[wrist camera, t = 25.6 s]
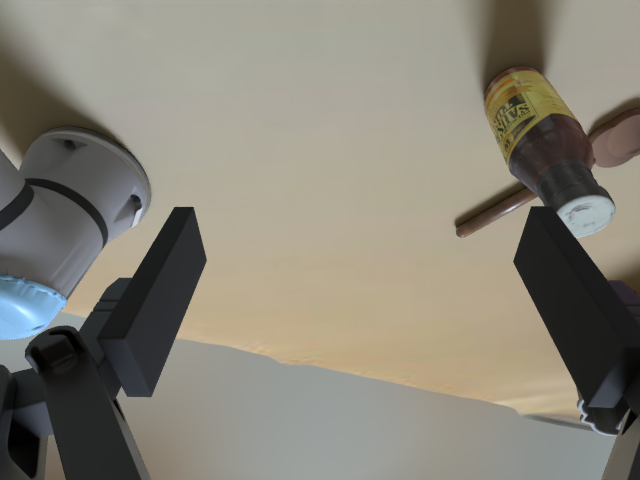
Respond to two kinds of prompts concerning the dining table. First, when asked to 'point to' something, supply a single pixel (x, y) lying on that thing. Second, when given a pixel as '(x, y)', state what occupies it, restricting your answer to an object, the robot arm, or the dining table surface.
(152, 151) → the dining table surface
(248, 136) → the dining table surface
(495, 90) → the sauce bottle
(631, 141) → the wooden spoon
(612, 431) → the bundt pan
